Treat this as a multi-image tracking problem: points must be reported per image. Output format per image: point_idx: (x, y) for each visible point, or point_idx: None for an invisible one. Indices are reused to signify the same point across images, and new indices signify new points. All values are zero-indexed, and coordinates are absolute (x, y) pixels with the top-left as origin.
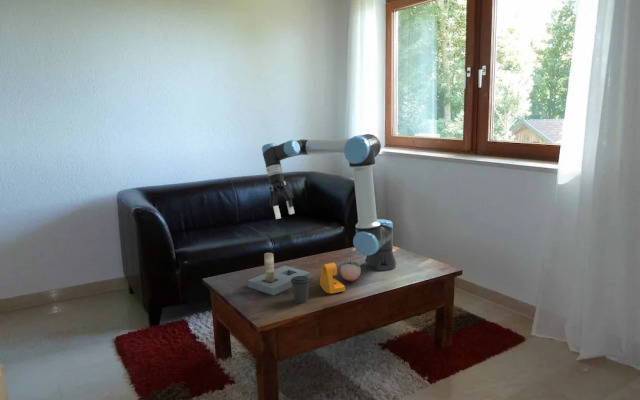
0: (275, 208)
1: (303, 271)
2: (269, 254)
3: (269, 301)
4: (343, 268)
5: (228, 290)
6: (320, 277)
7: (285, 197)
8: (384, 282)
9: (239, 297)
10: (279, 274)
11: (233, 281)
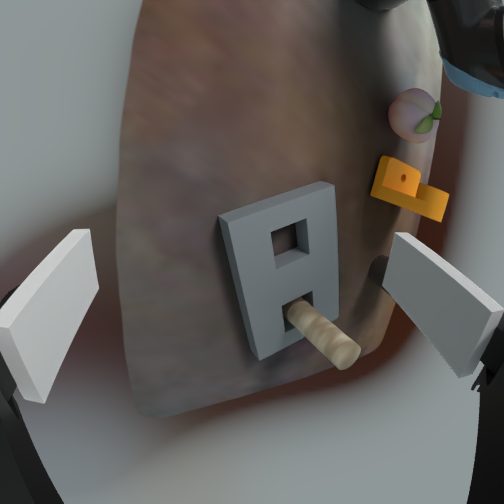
0: (49, 357)
1: (315, 198)
2: (351, 356)
3: (340, 322)
4: (421, 141)
5: (239, 387)
6: (390, 202)
7: (488, 413)
8: (425, 68)
9: (287, 370)
10: (283, 275)
11: (193, 374)
